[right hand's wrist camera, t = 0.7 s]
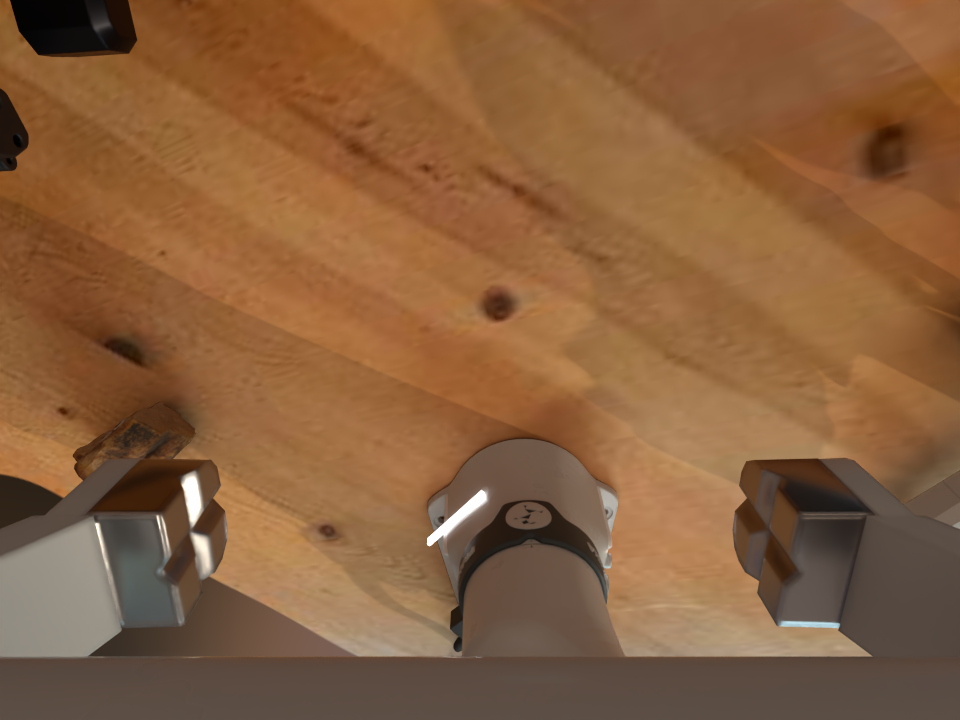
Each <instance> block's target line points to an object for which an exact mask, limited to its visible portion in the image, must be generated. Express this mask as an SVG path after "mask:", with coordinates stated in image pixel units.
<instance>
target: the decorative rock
mask: <svg viewBox="0 0 960 720" xmlns="http://www.w3.org/2000/svg"><path fill="white" fill-rule="evenodd" d="M194 436H195V429H194V428H193V427H192V426H191V425H190V424H189V423H187V422H186V421H185V420H184V419H183V418H182V417H181V416H180V415H179V414H178V413H177V412H175V411H174V410H172V409H170V408H168V407H166V406H165V405H164V404H163V403H161V402H159V403H157V404H155V405H154V406H152V407H150V408H147V409H142V410H139V411H137V412H136V413H134V414H133V415H131V416H130V417H128V418H126V419H123V420H122V421H121V422H120V423H119V424H118V425H117V426H116V427H115V428H114V430H113V431H109V432H106V433H104V434H102V435H100V436H99V437H97V438H96V439H95V440H93V441H92V442H91V443H89V444H88V445H86V446H84V447H80V448H79V449H77V450H76V451H75V453H74V454H73V457H74V458H75V460H76V461H77V463H76V464H75V466H74V469H75V471H76V473H77V474H78V476H79V477H80V478H81V479H82V480H83V481H84V480H85V479H86V478H87V477H88V476H89V475H90V474H92V473H93V472H94V471H95V470H96V469H97V468H98V467H99V466H100V465H102V464H103V463H104V462H105V461H106V460H109V459H124V458H144V459H173V458H174V457H175V456H176V455H177V454H178V453H179V452H180V451H181V450H182V449H183V448H184V447H185V446H186V445H187V444H188V443H189V442H190V441H191V440H192V439H193V437H194Z"/></svg>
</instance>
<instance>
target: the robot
mask: <svg viewBox="0 0 960 720" xmlns="http://www.w3.org/2000/svg"><path fill="white" fill-rule="evenodd" d="M904 506H905V507H907V508H908V509H909V510H910V511H911V512H912V513H913V514H914V515H916V516H929V517H931V518H934V519H936V520H938V521H941V522H943V523H946V524H948V525H951V526H953V527H956V528H958V529H960V471H958V472H956V473H955V474H953V475H951V476H950V477H948V478H946V479H945V480H943V481H942V482H940V483H938V484H937V485H935V486H933V487H932V488H930V489H928V490H927V491H925V492H924V493H922V494H920V495H919V496H917V497H915V498H914V499H912V500H910V501H909V502H907V503H906V504H904Z"/></svg>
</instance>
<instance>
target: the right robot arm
mask: <svg viewBox="0 0 960 720" xmlns="http://www.w3.org/2000/svg"><path fill="white" fill-rule="evenodd" d="M220 486H221V484H220V479H219V474H218V469H217V466H216V465H215V464H214V463H213V462H212V460H191V459H144V458H124V459H109V460H106V461H105V462H104V463H103V464H102V465H100V466H99V467H98V468H97V469H96V470H95V471H94V472H93V473H92V474H90V475H89V476H88V477H87V478H86V479H85V480H84V481H83V482H81V483H80V484H79V485H78V486H77V487H76V488H75V489H74V490H72V491H71V492H70V493H69V494H68V495H67V496H66V497H65V498H64V499H62V500H61V501H60V502H59V503H58V504H57V505H56V506H55V507H54V508H52V509H51V510H50V511H49V512H48V513H47V514H46V515H45V516H31V517H29V518H26V519H24V520H22V521H19V522H17V523H14V524H12V525H9V526H7V527H4V528H2V529H0V720H960V529H958V528H956V527H953V526H951V525H948V524H946V523H943V522H941V521H938V520H936V519H934V518H931V517H929V516H916V515H914V514H913V513H912V512H911V511H910V510H909V509H908V508H907V507H905V506H904V505H903V504H902V503H901V502H900V501H899V500H898V499H897V498H895V497H894V496H893V495H892V494H891V493H890V492H889V491H888V490H887V489H885V488H884V487H883V486H882V485H881V484H880V483H879V482H878V481H876V480H875V479H874V478H873V477H872V476H871V475H870V474H869V473H868V472H866V471H865V470H864V469H863V468H862V467H861V466H860V465H859V464H858V463H856V462H855V461H854V460H851V459H847V458H830V459H780V460H752V461H746V463H745V465H744V467H743V470H742V472H741V478H740V484H739V486H740V488H741V489H742V491H743V493H744V494H745V496H746V497H747V499H746V500H745V501H744V502H743V503H742V504H741V505H740V506H739V507H738V508H737V509H736V510H735V515H734V523H733V538H734V548H735V551H736V554H737V557H738V560H739V562H740V564H741V566H742V568H743V569H744V571H745V572H746V573H747V574H749V575H750V576H752V577H754V578H755V579H757V580H758V581H759V586H758V592H757V593H758V595H759V597H760V598H761V600H762V602H763V603H764V605H765V607H766V608H767V610H768V612H769V613H770V615H771V617H772V618H773V620H774V622H775V623H776V625H777V626H790V627H827V628H839V630H838V631H840V632H841V633H842V634H844V635H845V636H846V637H848V638H849V639H850V640H852V641H853V642H855V643H856V644H857V645H859V646H860V647H861V648H863V649H864V650H865V651H867V652H868V653H869V654H871V655H872V656H873V657H626V656H625V654H624V652H623V650H622V648H621V645H620V643H619V640H618V638H617V635H616V633H615V630H614V627H613V624H612V621H611V618H610V615H609V612H608V609H607V606H606V604H607V596H608V592H609V579H608V576H607V574H605V571H604V568H611V564H612V557H611V554H610V553H608V549H609V548H611V547H612V538H611V531H612V527H613V523H614V519H615V515H616V511H617V507H618V497H617V493H616V492H615V491H614V490H613V489H612V488H611V487H609V486H607V485H606V484H604V483H602V482H600V481H598V480H596V479H594V478H593V477H592V476H591V475H590V474H589V472H588V471H587V470H586V469H585V467H584V466H583V465H582V463H581V462H580V461H579V460H578V459H577V458H576V457H574V456H573V455H572V454H571V453H569V452H568V451H566V450H565V449H563V448H561V447H559V446H557V445H554V444H552V443H549V442H545V441H541V440H535V439H513V440H507V441H503V442H499V443H496V444H493V445H491V446H489V447H487V448H485V449H483V450H481V451H480V452H478V453H477V454H475V455H474V456H473V457H472V458H470V459H469V460H468V461H467V462H466V463H465V464H464V466H463V467H462V468H461V469H460V471H459V472H458V474H457V475H456V477H455V478H454V480H453V481H452V482H451V484H450V485H449V486H447V487H446V488H444V489H442V490H441V491H439V492H438V493H436V494H435V495H434V496H433V497H431V499H430V500H429V501H428V505H427V507H428V515H429V518H430V521H431V524H432V527H433V530H434V533H433V534H432V535H431V536H430V537H429V538H428V542H427V544H428V545H429V546H430V545H431V544H433V543H434V542H435V541H436V540H437V542H438V545H439V548H440V551H441V554H442V557H443V560H444V563H445V566H446V569H447V572H448V575H449V578H450V581H451V584H452V587H453V590H454V593H455V596H456V599H457V602H458V605H459V606H458V607H456V608H455V609H454V610H452V611H451V623H450V629H451V630H452V631H453V632H454V633H455V634H457V635H458V636H459V637H458V638H457V640H456V641H455V643H454V650H455V651H457V652H460V651H462V657H87V656H88V655H90V654H91V653H92V652H94V651H95V650H96V649H98V648H99V647H100V646H102V645H103V644H104V643H106V642H107V641H108V640H110V639H111V638H112V637H114V636H115V635H116V634H118V633H119V632H120V631H121V628H133V627H167V626H183V625H184V623H185V622H186V620H187V618H188V617H189V615H190V613H191V612H192V610H193V608H194V607H195V605H196V603H197V602H198V600H199V598H200V597H201V595H202V593H203V592H202V586H201V580H203V579H205V578H206V577H208V576H210V575H211V574H213V573H214V572H215V571H216V569H217V567H218V566H219V564H220V562H221V560H222V558H223V554H224V550H225V546H226V542H227V521H226V515H225V510H224V509H223V508H222V507H221V506H220V505H219V504H218V503H217V502H216V501H215V500H214V499H213V497H214V496H215V494H216V493H217V491H218V489H219V488H220ZM605 509H607V510H606V511H605ZM440 516H444V519H440V518H439V517H440Z"/></svg>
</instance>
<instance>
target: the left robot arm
mask: <svg viewBox="0 0 960 720" xmlns="http://www.w3.org/2000/svg"><path fill="white" fill-rule="evenodd" d="M10 2H11V5H12V9H13V12H14V15H15V19H16V22H17V26H18V29H19V32H20V33H21V34H22V35H23V37H24V38H25V39H26V40H27V42H28V43H29V44H30V45H31V47H32V48H33V49H34V50H35V52H36V53H37V54H38V55H42V56H50V57H84V56H99V55H114V54H129V53H130V51H131V49H132V48H133V46H134V45H135V43H136V41H137V37H136V33H135V28H134V24H133V20H132V15H131V11H130V7H129V2H128V0H10ZM28 143H29V142H28V133H27V131H26V129H25V127H24V125H23V123H22V122H21V120H20V118H19V116H18V114H17V112H16V110H15V108H14V107H13V105H12V103H11V101H10V99H9V97H8V95H7V94H6V93H5V92H4V91H3V90H2V89H0V171H13V170H15V169H16V167H17V160H16V158H15V157H16V156H18V155H19V154H20V153H21V152H23V151H24V150H25V149H26V148H27V147H28Z"/></svg>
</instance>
